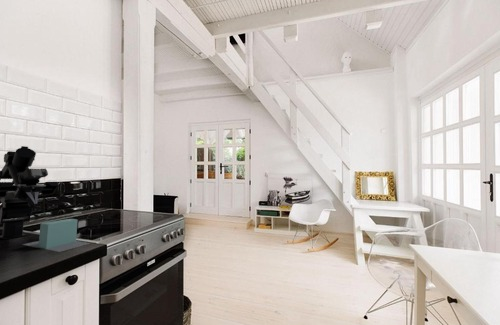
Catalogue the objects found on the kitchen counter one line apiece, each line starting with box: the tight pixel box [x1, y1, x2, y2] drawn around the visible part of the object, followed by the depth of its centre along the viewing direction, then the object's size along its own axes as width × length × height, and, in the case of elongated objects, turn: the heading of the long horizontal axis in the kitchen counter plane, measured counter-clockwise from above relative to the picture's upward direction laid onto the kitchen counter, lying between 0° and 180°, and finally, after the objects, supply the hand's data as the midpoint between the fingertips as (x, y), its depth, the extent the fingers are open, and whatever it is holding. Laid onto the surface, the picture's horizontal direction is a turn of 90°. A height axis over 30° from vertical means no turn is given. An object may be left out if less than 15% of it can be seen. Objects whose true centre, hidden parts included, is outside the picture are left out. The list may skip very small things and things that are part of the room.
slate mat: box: [21, 240, 91, 253], centre depth 82 cm, size 19×10×1 cm, turn 71°
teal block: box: [38, 218, 79, 250], centre depth 82 cm, size 4×10×8 cm, turn 161°
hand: (35, 205), depth 88 cm, fingers closed
